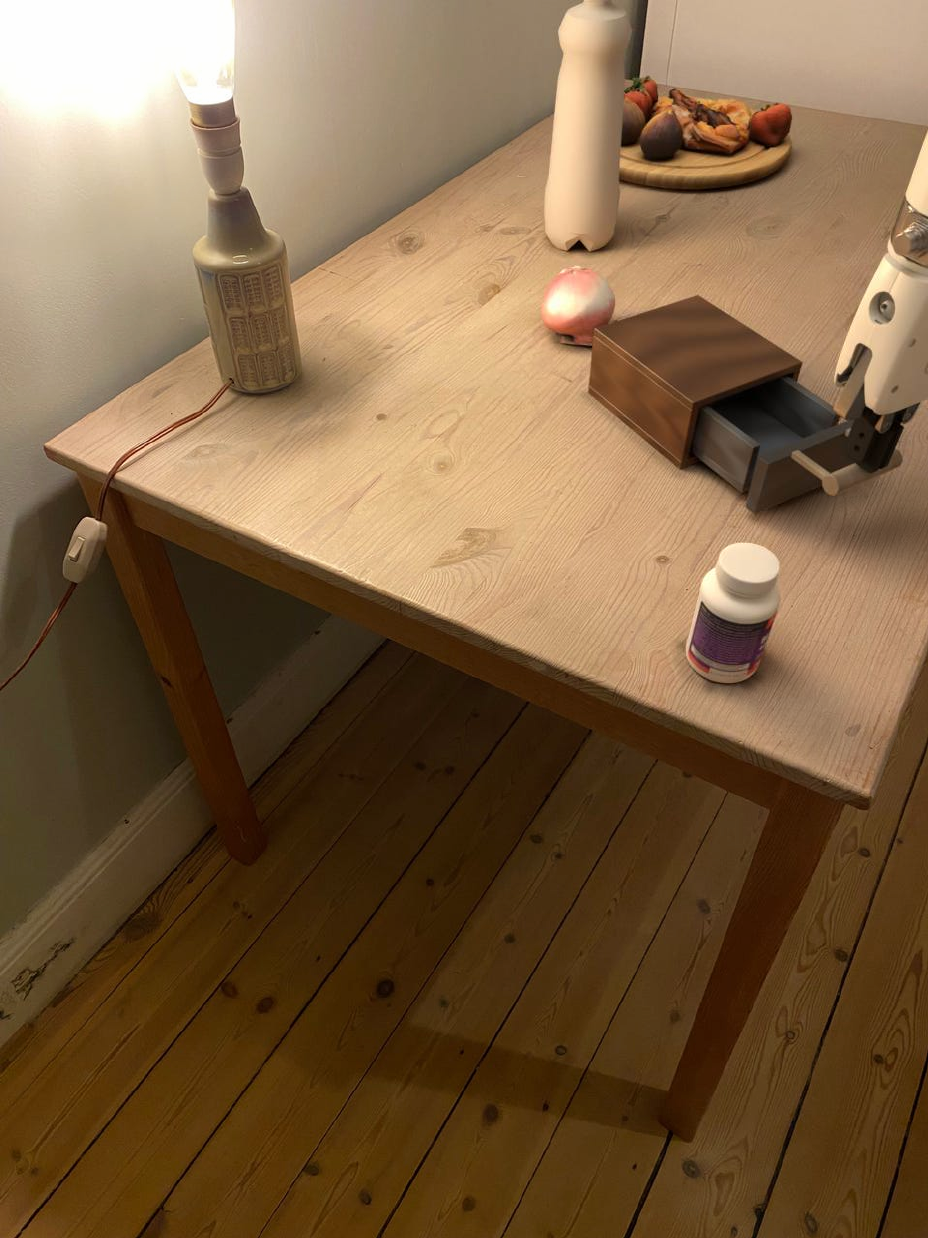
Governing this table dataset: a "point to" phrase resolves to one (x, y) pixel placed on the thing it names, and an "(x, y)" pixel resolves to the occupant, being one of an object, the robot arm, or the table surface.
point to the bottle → (587, 126)
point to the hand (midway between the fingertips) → (863, 460)
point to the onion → (577, 305)
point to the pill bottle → (734, 614)
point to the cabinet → (679, 369)
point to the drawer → (778, 444)
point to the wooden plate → (699, 139)
